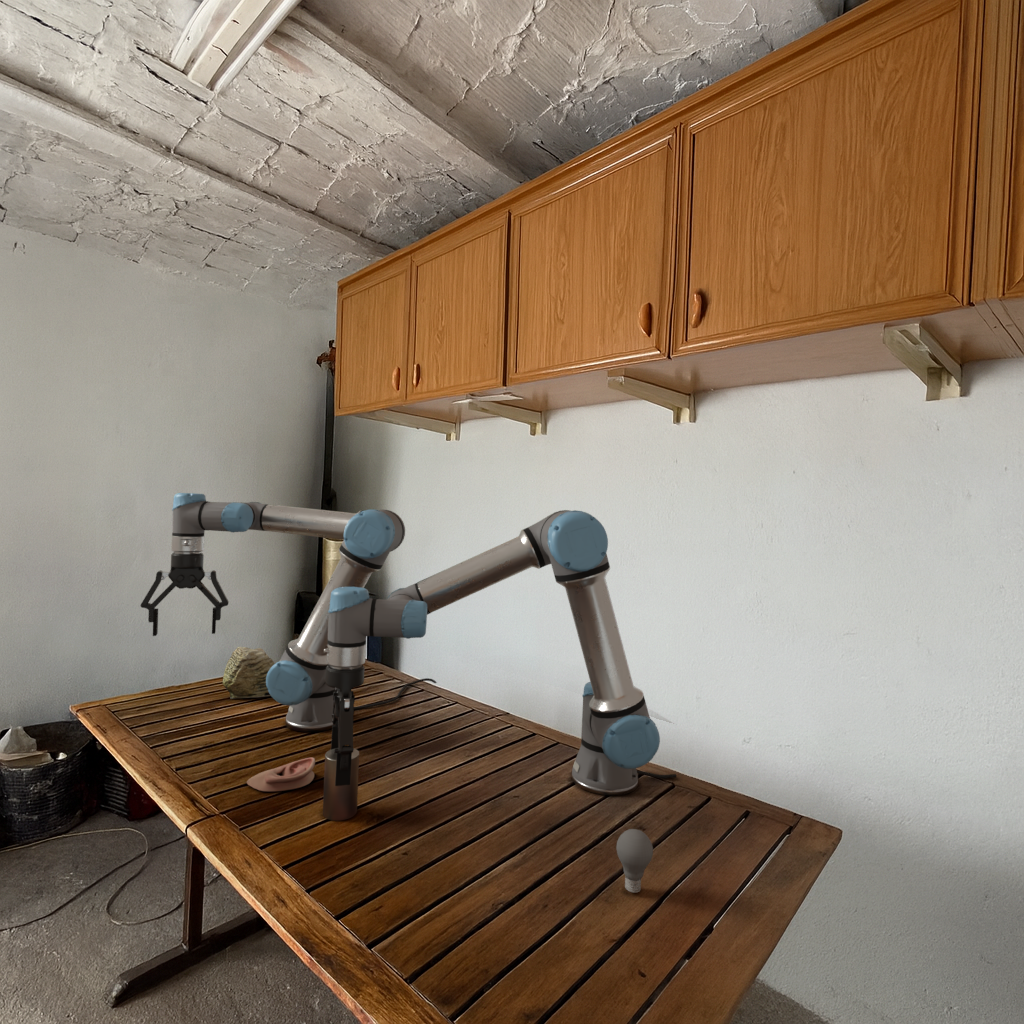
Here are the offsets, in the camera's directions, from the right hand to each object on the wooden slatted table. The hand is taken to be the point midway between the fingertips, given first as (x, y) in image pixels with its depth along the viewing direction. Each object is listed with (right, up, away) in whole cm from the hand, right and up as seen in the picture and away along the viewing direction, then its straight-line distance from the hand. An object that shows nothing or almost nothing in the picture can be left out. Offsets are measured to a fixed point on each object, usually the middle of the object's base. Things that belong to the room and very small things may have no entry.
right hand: (339, 769), depth 127 cm
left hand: (-51, +20, +37) cm, 66 cm away
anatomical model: (-16, -8, +13) cm, 22 cm away
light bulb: (+55, -12, -22) cm, 60 cm away
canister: (0, -9, 0) cm, 9 cm away
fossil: (-46, -5, +71) cm, 85 cm away
